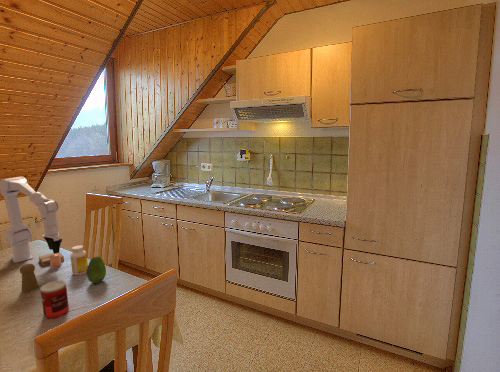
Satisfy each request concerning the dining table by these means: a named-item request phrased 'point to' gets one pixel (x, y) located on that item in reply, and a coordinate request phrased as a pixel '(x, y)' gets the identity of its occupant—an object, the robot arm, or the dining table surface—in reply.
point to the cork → (28, 278)
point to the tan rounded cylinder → (55, 260)
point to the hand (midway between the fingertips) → (54, 251)
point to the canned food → (54, 299)
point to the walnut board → (48, 259)
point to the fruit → (96, 270)
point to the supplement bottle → (78, 260)
